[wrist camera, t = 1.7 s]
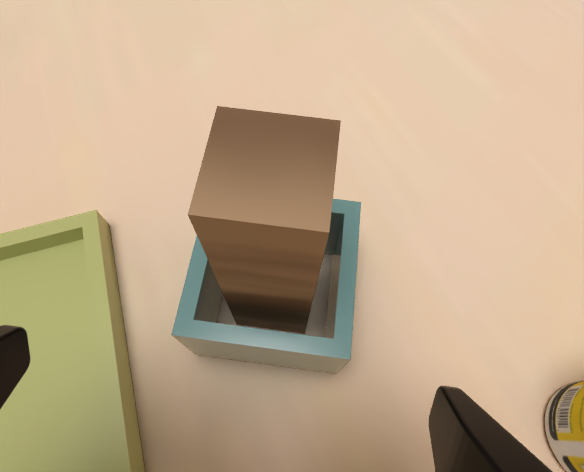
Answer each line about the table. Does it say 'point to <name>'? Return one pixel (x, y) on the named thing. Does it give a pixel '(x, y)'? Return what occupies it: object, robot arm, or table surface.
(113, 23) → the table surface
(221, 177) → the walnut stick
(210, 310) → the teal open box
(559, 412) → the supplement bottle
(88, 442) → the olive tray
